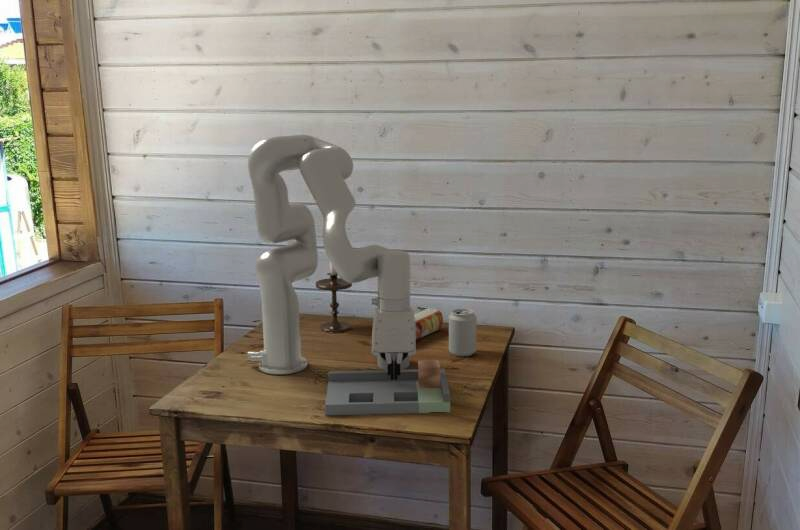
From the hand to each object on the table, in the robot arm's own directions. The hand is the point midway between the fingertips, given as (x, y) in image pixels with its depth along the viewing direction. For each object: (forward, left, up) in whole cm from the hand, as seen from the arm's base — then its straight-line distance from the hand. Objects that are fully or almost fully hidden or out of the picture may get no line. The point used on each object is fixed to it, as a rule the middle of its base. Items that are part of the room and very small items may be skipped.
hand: (393, 377), depth 192 cm
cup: (0, +21, -4) cm, 21 cm away
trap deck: (-2, -4, -4) cm, 6 cm away
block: (+8, -1, -2) cm, 9 cm away
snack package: (+7, +43, -5) cm, 44 cm away
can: (+19, +29, -4) cm, 35 cm away
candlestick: (-17, +54, -4) cm, 56 cm away
